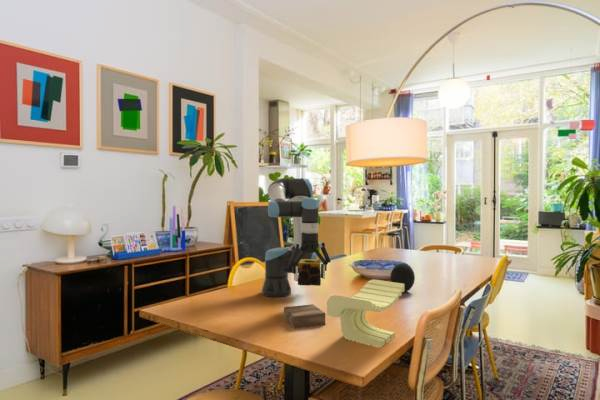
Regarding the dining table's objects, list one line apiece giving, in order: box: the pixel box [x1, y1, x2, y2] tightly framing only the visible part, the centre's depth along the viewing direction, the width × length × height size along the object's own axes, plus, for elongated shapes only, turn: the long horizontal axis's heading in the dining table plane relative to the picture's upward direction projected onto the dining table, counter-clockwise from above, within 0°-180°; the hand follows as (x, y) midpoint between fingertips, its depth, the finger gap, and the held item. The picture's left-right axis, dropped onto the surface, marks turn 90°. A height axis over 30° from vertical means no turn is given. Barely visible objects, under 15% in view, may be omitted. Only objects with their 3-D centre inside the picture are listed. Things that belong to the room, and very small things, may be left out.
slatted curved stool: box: [326, 278, 405, 348], centre depth 144 cm, size 30×16×18 cm, turn 144°
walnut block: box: [283, 303, 326, 329], centre depth 162 cm, size 13×13×5 cm
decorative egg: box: [390, 262, 415, 293], centre depth 210 cm, size 12×12×15 cm
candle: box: [297, 258, 322, 287], centre depth 180 cm, size 10×10×10 cm
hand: (309, 279), depth 179 cm, fingers closed on candle, 13 cm apart
